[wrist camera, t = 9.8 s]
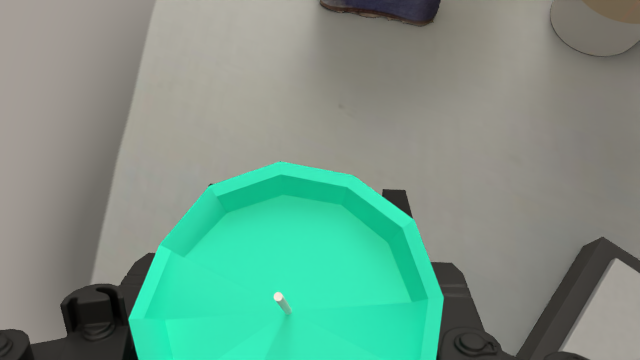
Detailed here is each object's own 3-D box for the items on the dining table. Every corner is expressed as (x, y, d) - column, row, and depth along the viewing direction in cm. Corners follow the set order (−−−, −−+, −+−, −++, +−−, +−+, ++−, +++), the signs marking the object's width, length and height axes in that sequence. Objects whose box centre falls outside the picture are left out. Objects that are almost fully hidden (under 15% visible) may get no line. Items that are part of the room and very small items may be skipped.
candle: (330, 236, 21) (328, 73, 9) (418, 363, 19) (549, 351, 7) (204, 319, 19) (31, 246, 8) (285, 463, 18) (204, 625, 6)
